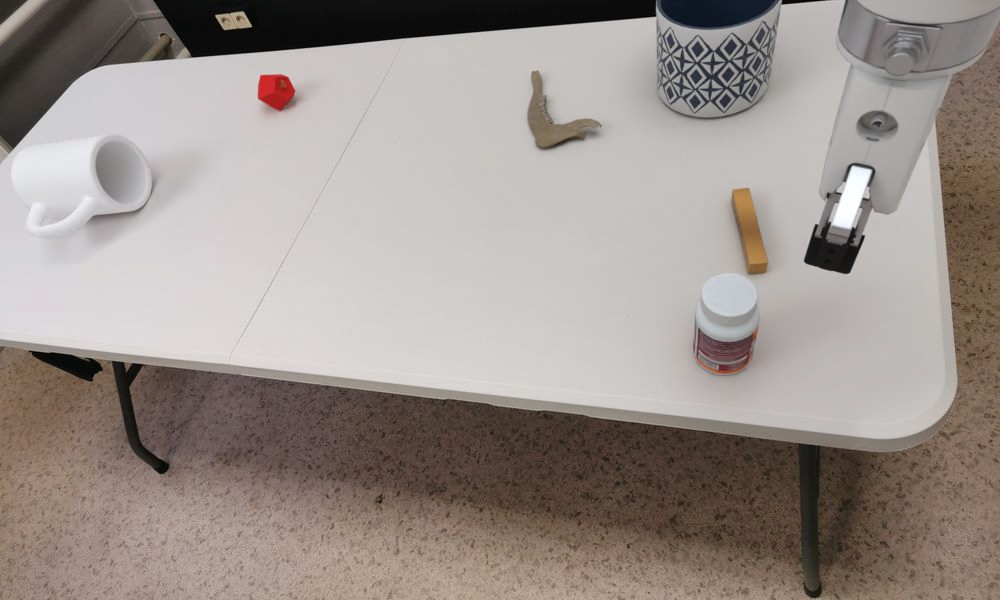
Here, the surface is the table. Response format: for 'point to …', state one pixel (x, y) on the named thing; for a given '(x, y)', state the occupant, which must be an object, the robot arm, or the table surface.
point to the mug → (79, 181)
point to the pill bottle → (726, 324)
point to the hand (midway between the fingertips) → (843, 219)
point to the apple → (275, 90)
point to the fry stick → (749, 231)
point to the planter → (714, 53)
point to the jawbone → (542, 121)
